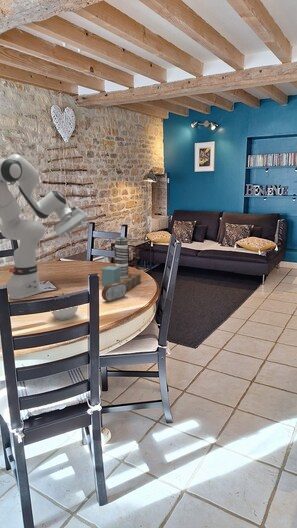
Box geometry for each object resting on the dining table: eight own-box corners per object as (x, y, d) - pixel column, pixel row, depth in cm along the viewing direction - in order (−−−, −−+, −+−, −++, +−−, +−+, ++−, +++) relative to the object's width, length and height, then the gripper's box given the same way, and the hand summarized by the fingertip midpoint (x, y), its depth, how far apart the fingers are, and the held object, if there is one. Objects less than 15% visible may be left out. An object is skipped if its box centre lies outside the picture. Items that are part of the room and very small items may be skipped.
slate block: (114, 287, 202) (114, 270, 200) (102, 285, 205) (101, 268, 203) (120, 283, 210) (120, 267, 207) (108, 282, 212) (107, 265, 210)
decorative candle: (115, 274, 230) (114, 236, 224) (129, 274, 230) (129, 236, 224) (114, 278, 221) (113, 238, 215) (129, 278, 221) (128, 238, 215)
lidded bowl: (52, 312, 162) (50, 289, 160) (80, 311, 163) (79, 288, 161) (47, 323, 150) (45, 298, 148) (77, 321, 151) (76, 297, 149)
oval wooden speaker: (123, 295, 187) (123, 280, 185) (127, 296, 185) (127, 281, 183) (101, 302, 176) (100, 285, 175) (105, 303, 174) (104, 287, 172)
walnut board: (125, 292, 192) (125, 283, 191) (120, 291, 194) (120, 282, 192) (140, 281, 213) (140, 273, 211) (136, 281, 214) (136, 273, 212)
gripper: (49, 224, 207) (59, 240, 200) (79, 204, 208) (89, 219, 201) (54, 229, 212) (64, 245, 206) (83, 210, 213) (93, 225, 207)
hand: (77, 232), depth 204 cm, fingers open, 8 cm apart
